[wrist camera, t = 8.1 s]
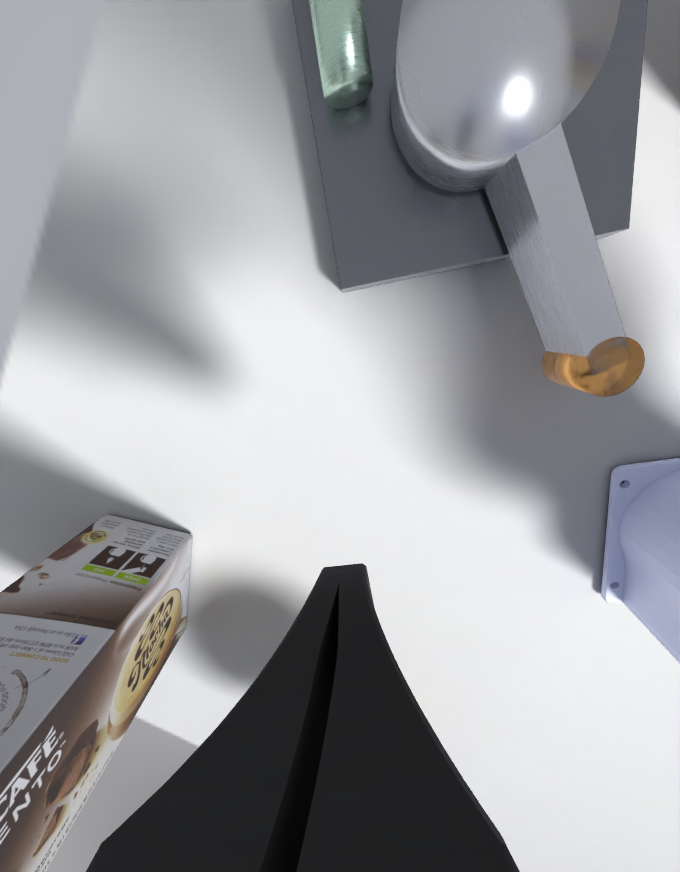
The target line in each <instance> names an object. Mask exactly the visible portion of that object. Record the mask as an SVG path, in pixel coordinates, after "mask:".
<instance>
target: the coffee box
mask: <svg viewBox="0 0 680 872" xmlns="http://www.w3.org/2000/svg"><path fill="white" fill-rule="evenodd" d="M191 550H192V535H191V534H188V533H184V532H180V531H176V530H172V529H167V528H163V527H159V526H155V525H151V524H147V523H143V522H139V521H134V520H130V519H126V518H122V517H118V516H114V515H105V516H103V517H101V518H100V519H98V520H97V521H96V522H95V523H93V524H92V525H91V526H89V527H88V528H87V529H85V530H84V531H82V532H81V533H80V534H78V535H77V536H76V537H74V538H73V539H72V540H70V541H69V542H68V543H66V544H65V545H64V546H62V547H61V548H60V549H58V550H57V551H56V552H54V553H53V554H52V555H50V556H49V557H48V558H46V559H44V560H43V561H42V562H41V563H39V564H38V565H36V566H35V567H34V568H32V569H31V570H29V571H28V572H27V573H25V574H24V575H23V576H22V577H21V578H19V579H18V580H17V581H15V582H14V583H12V584H11V585H10V586H8V587H7V588H6V589H5V590H3V591H2V592H0V872H46V870H47V868H48V866H49V865H50V863H51V861H52V859H53V858H54V856H55V854H56V853H57V851H58V849H59V847H60V845H61V844H62V842H63V840H64V838H65V837H66V835H67V833H68V832H69V830H70V828H71V826H72V825H73V823H74V821H75V819H76V818H77V816H78V814H79V813H80V811H81V809H82V807H83V806H84V804H85V802H86V800H87V799H88V797H89V795H90V793H91V791H92V790H93V788H94V786H95V784H96V783H97V781H98V779H99V778H100V776H101V774H102V772H103V771H104V769H105V767H106V765H107V764H108V762H109V760H110V759H111V757H112V755H113V753H114V751H115V750H116V748H117V746H118V745H119V743H120V741H121V739H122V737H123V736H124V734H125V732H126V731H127V729H128V727H129V725H130V724H131V722H132V720H133V718H134V717H135V715H136V713H137V711H138V710H139V708H140V706H141V704H142V703H143V701H144V699H145V697H146V696H147V694H148V692H149V690H150V689H151V687H152V685H153V684H154V682H155V680H156V678H157V676H158V675H159V673H160V671H161V669H162V668H163V666H164V664H165V663H166V661H167V659H168V657H169V656H170V654H171V652H172V650H173V649H174V647H175V645H176V644H177V642H178V640H179V638H180V637H181V635H182V633H183V632H184V630H185V628H186V620H187V607H188V592H189V578H190V565H191Z"/></svg>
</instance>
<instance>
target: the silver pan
mask: <svg viewBox="0 0 680 872" xmlns="http://www.w3.org/2000/svg"><path fill="white" fill-rule="evenodd" d="M619 7H620V0H403V3H402V9H401V15H400V23H399V32H398V40H397V48H396V56H395V65H394V73H393V81H392V91H391V118H392V126H393V130H394V134H395V138H396V141H397V144H398V146H399V149H400V151H401V153H402V155H403V157H404V159H405V160H406V161H407V163H408V164H409V166H410V167H411V168H412V169H413V170H414V172H415V173H416V174H417V175H418V176H420V177H421V178H422V179H423V180H424V181H426V182H428V183H429V184H431V185H433V186H435V187H438V188H440V189H443V190H447V191H452V192H468V191H475V190H479V189H483V188H485V191H486V193H487V196H488V199H489V201H490V204H491V206H492V209H493V212H494V214H495V217H496V220H497V222H498V225H499V228H500V230H501V233H502V236H503V238H504V241H505V244H506V246H507V249H508V252H509V254H510V257H511V260H512V262H513V265H514V268H515V270H516V273H517V276H518V278H519V281H520V284H521V286H522V289H523V291H524V294H525V297H526V299H527V302H528V305H529V307H530V310H531V313H532V315H533V318H534V321H535V323H536V326H537V329H538V331H539V334H540V337H541V339H542V342H543V345H544V347H545V350H546V352H545V354H544V356H543V360H542V369H543V372H544V374H545V376H546V377H547V378H548V379H549V380H550V381H552V382H555V383H558V384H561V385H564V386H568V387H571V388H574V389H577V390H581V391H584V392H587V393H591V394H594V395H597V396H613V395H616V394H619V393H621V392H623V391H625V390H626V389H628V388H629V387H630V386H632V385H633V384H634V383H635V382H636V380H637V379H638V378H639V376H640V374H641V372H642V370H643V367H644V361H645V358H644V352H643V350H642V348H641V346H640V345H639V344H638V343H637V342H636V341H634V340H633V339H630V338H627V337H626V336H625V333H624V330H623V327H622V323H621V320H620V317H619V313H618V310H617V307H616V303H615V300H614V297H613V294H612V290H611V287H610V284H609V280H608V277H607V274H606V271H605V267H604V264H603V261H602V257H601V254H600V251H599V248H598V244H597V241H596V238H595V234H594V231H593V228H592V224H591V221H590V218H589V215H588V211H587V208H586V205H585V201H584V198H583V195H582V192H581V188H580V185H579V182H578V178H577V175H576V172H575V169H574V165H573V162H572V159H571V155H570V152H569V149H568V145H567V142H566V139H565V136H564V132H563V129H562V126H561V122H562V121H563V120H564V119H565V118H566V117H567V116H568V115H569V114H570V113H571V112H572V111H573V109H574V108H575V107H576V106H577V105H578V104H579V102H580V101H581V100H582V98H583V97H584V95H585V94H586V93H587V91H588V90H589V88H590V86H591V85H592V83H593V81H594V80H595V78H596V76H597V74H598V73H599V70H600V68H601V66H602V64H603V62H604V60H605V58H606V55H607V52H608V50H609V47H610V44H611V41H612V38H613V35H614V31H615V27H616V23H617V19H618V13H619Z"/></svg>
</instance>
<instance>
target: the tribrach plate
mask: <svg viewBox="0 0 680 872" xmlns="http://www.w3.org/2000/svg"><path fill="white" fill-rule="evenodd" d="M647 1H648V0H620V7H619V13H618V19H617V23H616V27H615V31H614V35H613V38H612V41H611V44H610V47H609V50H608V52H607V55H606V58H605V60H604V62H603V64H602V66H601V68H600V70H599V73H598V74H597V76H596V78H595V80H594V81H593V83H592V85H591V86H590V88H589V90H588V91H587V93H586V94H585V95H584V97H583V98H582V100H581V101H580V102H579V104H578V105H577V106H576V107H575V108H574V109H573V111H572V112H571V113H570V114H569V115H568V116H567V117H566V118H565V119H564V120H563V121H562V122H561V126H562V129H563V132H564V136H565V139H566V142H567V145H568V149H569V152H570V155H571V159H572V162H573V165H574V169H575V172H576V175H577V178H578V182H579V185H580V188H581V192H582V195H583V198H584V201H585V205H586V208H587V211H588V215H589V218H590V221H591V224H592V228H593V231H594V234H595V238H596V239H600V238H604V237H607V236H609V235H612V234H615V233H618V232H621V231H623V230H626V229H629V221H630V209H631V197H632V185H633V172H634V160H635V148H636V136H637V124H638V111H639V99H640V87H641V75H642V62H643V50H644V38H645V26H646V13H647ZM402 3H403V0H292V4H293V10H294V16H295V21H296V27H297V33H298V39H299V45H300V51H301V57H302V63H303V68H304V74H305V80H306V86H307V92H308V98H309V104H310V110H311V116H312V121H313V127H314V133H315V139H316V145H317V151H318V157H319V163H320V168H321V174H322V180H323V186H324V192H325V198H326V204H327V210H328V216H329V221H330V227H331V233H332V239H333V245H334V251H335V257H336V263H337V269H338V274H339V280H340V286H341V290H342V292H348V291H353V290H357V289H362V288H367V287H372V286H376V285H381V284H386V283H391V282H395V281H400V280H405V279H410V278H414V277H419V276H424V275H429V274H433V273H438V272H443V271H448V270H452V269H457V268H462V267H467V266H471V265H476V264H481V263H486V262H490V261H495V260H500V259H505V258H509V257H510V254H509V252H508V249H507V246H506V244H505V241H504V238H503V236H502V233H501V230H500V228H499V225H498V222H497V220H496V217H495V214H494V212H493V209H492V206H491V204H490V201H489V199H488V196H487V193H486V191H485V188H483V189H479V190H475V191H468V192H452V191H447V190H443V189H440V188H438V187H435V186H433V185H431V184H429V183H428V182H426V181H424V180H423V179H422V178H421V177H420V176H418V175H417V174H416V173H415V172H414V170H413V169H412V168H411V167H410V166H409V164H408V163H407V161H406V160H405V159H404V157H403V155H402V153H401V151H400V149H399V146H398V144H397V141H396V138H395V134H394V130H393V126H392V118H391V91H392V81H393V73H394V65H395V56H396V48H397V40H398V32H399V23H400V15H401V9H402Z"/></svg>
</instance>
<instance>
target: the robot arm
mask: <svg viewBox="0 0 680 872" xmlns="http://www.w3.org/2000/svg"><path fill="white" fill-rule="evenodd" d="M624 480H625V481H624ZM622 481H624V483H623V484H622V485H620V483H621V482H622ZM601 596H602V598H603V599H604V600H605V601H606V602H607V603H624V604H625V605H626V606H627V607H628V608H629V610H630V611H631V612H632V613H633V614H634V615H635V616H636V617H637V618H638V619H639V620H640V621H641V622H642V623H643V625H644V626H645V627H646V628H647V629H648V630H649V631H650V632H651V633H652V634H653V635H654V636H655V637H656V638H657V640H658V641H659V642H660V643H661V644H662V645H663V646H664V647H665V648H666V649H667V650H668V651H669V652H670V653H671V654H672V656H673V657H674V658H675V659H676V660H677V661H678V662H679V663H680V458H674V459H666V460H659V461H651V462H643V463H636V464H628V465H621V466H618V467H616V468H615V469H614V470H613V471H612V474H611V483H610V494H609V506H608V518H607V530H606V542H605V554H604V566H603V578H602V589H601ZM86 872H520V871H519V869H518V867H517V866H516V864H515V862H514V860H513V858H512V856H511V854H510V852H509V850H508V848H507V846H506V844H505V841H504V839H503V837H502V836H501V834H500V833H499V831H498V830H497V828H496V827H495V825H494V824H493V822H492V821H491V820H490V818H489V817H488V815H487V814H486V812H485V811H484V809H483V808H482V806H481V805H480V803H479V802H478V800H477V799H476V797H475V796H474V794H473V793H472V791H471V790H470V788H469V787H468V785H467V784H466V782H465V781H464V779H463V778H462V776H461V774H460V773H459V771H458V770H457V768H456V767H455V765H454V763H453V762H452V760H451V759H450V757H449V756H448V754H447V752H446V751H445V749H444V747H443V746H442V744H441V742H440V741H439V739H438V737H437V736H436V734H435V732H434V730H433V729H432V727H431V725H430V724H429V722H428V720H427V719H426V717H425V715H424V713H423V712H422V710H421V708H420V707H419V705H418V703H417V701H416V699H415V697H414V695H413V694H412V692H411V690H410V688H409V686H408V684H407V682H406V680H405V678H404V676H403V674H402V672H401V670H400V668H399V666H398V664H397V662H396V660H395V658H394V656H393V653H392V651H391V649H390V647H389V644H388V642H387V640H386V637H385V635H384V633H383V630H382V628H381V625H380V623H379V620H378V617H377V614H376V611H375V609H374V604H373V599H372V594H371V589H370V584H369V578H368V573H367V568H366V566H365V565H364V564H352V565H343V566H333V567H324V569H323V570H322V571H321V573H320V575H319V577H318V579H317V581H316V583H315V585H314V587H313V589H312V591H311V593H310V595H309V597H308V599H307V600H306V602H305V604H304V606H303V608H302V609H301V611H300V613H299V614H298V616H297V618H296V620H295V621H294V623H293V625H292V627H291V628H290V630H289V631H288V633H287V634H286V636H285V638H284V639H283V641H282V642H281V644H280V645H279V647H278V648H277V650H276V652H275V653H274V655H273V656H272V658H271V659H270V660H269V662H268V663H267V665H266V666H265V668H264V669H263V670H262V672H261V673H260V674H259V676H258V677H257V678H256V680H255V681H254V682H253V684H252V685H251V686H250V688H249V689H248V690H247V692H246V693H245V694H244V695H243V697H242V698H241V699H240V700H239V702H238V703H237V704H236V705H235V706H234V708H233V709H232V710H231V711H230V713H229V714H228V715H227V716H226V717H225V719H224V720H223V721H222V722H221V723H220V724H219V726H218V727H217V728H216V729H215V730H214V731H213V733H212V734H211V735H210V736H209V737H208V738H207V739H206V740H205V741H204V742H203V743H202V744H201V746H200V747H199V748H198V749H197V750H196V751H195V752H194V753H193V754H192V755H191V756H190V757H189V758H188V760H187V761H186V762H185V763H184V764H183V765H182V766H181V767H180V768H179V769H178V771H176V772H175V773H174V774H173V776H172V777H171V778H170V779H169V780H168V781H167V782H166V783H165V784H164V785H163V786H162V787H161V788H160V789H159V790H158V791H157V792H155V794H153V795H152V796H151V797H150V798H149V799H148V800H147V801H146V802H145V803H144V804H143V805H142V806H141V807H140V808H139V809H138V810H137V811H135V812H134V813H133V814H132V815H131V816H130V817H129V818H128V819H127V820H126V821H125V822H124V823H123V824H122V825H121V826H120V827H119V828H118V829H117V830H116V831H114V832H113V833H112V834H111V835H110V836H109V837H108V838H107V839H106V840H105V841H103V842H102V843H101V845H100V847H99V849H98V851H97V853H96V854H95V856H94V858H93V860H92V862H91V864H90V865H89V867H88V869H87V871H86Z"/></svg>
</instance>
